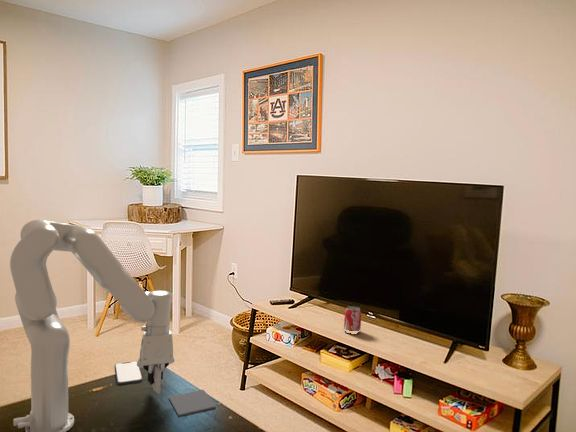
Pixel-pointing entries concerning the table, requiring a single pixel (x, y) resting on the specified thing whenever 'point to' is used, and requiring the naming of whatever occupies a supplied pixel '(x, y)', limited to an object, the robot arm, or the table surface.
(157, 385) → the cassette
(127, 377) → the phone case
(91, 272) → the robot arm
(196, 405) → the pad
